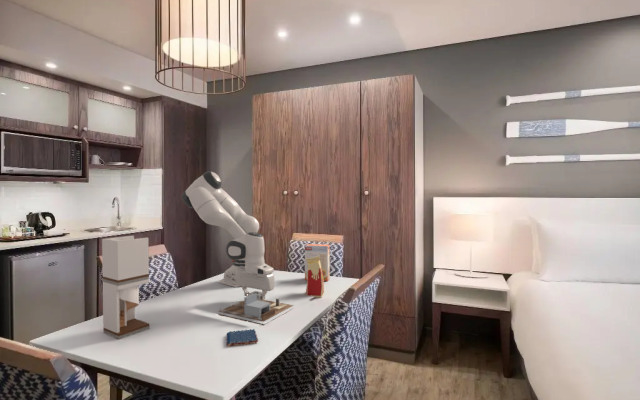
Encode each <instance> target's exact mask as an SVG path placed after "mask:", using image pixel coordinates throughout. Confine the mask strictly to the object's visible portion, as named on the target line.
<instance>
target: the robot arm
mask: <svg viewBox="0 0 640 400" xmlns="http://www.w3.org/2000/svg"><path fill="white" fill-rule="evenodd" d="M221 186H222V179H221V178H220V176H219V174H217V173H215V172H214V171H211V170H208V171H205V172H204V173H202V175H201V176H199V177H197V178H196V179H195V180H194V181H193V182H192V183H191V184H190V185H189V186H188V187H187V188H186V189H185V190H184V191H183V193H181V200H182V202H183V203H184V204H185V205H186V206H187V207H188V208H190V209H194V211H195V212H196V213H197V215H198V216H199V218H200V219H201V220H202V221H203V222H204V223H205V224H208V225H210V226H216V227H220V228H223V229H224V230H226V231H227V232H229V234H230V236H231V237H233V238H234V239H232V240H230V241H229V242H227V244H226V247H225V253H226V255H227V257H228V258H229V259H230V260H231V262H232V265H231V266H230V267H229V268H227V269H226V270H225V271H224V274H223V278H222V279H220V280H219V281H218V282H219V283H220V284H222V285H226V286H230V287H233V288H237V287H242V291H243V295H244V297H247V296H248V293H250V292H249V291H248V288H250V289H255V290H260V291H261V292H263V294H262V295H261V296H260V297H261V298H260V299H262V300H266V295H267V294H268V292H270V291H273V290H274V289H275V275H274V267H272V266H270V265H269V264H267V263H265V252H266V251H265V238H264V235H263V234H261V233H259V230H260V223H259V221H258V220H257V219H256V217H254V216H253V215H252V216H251V215H249V214H247V213H246V212H245V211H244V210H243V209H242V207H241V206H240V205H239V203H238V202H237V201H236V200H235V199H234V198H232V196H231V195H229V193H227V192H226V191H225V190H224V189H223V188H222V187H221Z"/></svg>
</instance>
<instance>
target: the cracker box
mask: <svg viewBox="0 0 640 400" xmlns="http://www.w3.org/2000/svg"><path fill="white" fill-rule="evenodd" d="M317 256H320V258H319V259H320V264H321V268H322V273H323V280H324V282H328V281H330V278H331V277H330V268H331V267H330V244H319V243H314V244H313V243H307V244H305V245H304V281H307V278H308V263H307V260H306V259H308V258H314V257H317Z"/></svg>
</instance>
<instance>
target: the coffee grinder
mask: <svg viewBox="0 0 640 400" xmlns="http://www.w3.org/2000/svg"><path fill="white" fill-rule="evenodd" d="M101 246H102V247H101V249H102V251H101V252H102V254H101V258H102V260H101V262H102V265H101V267H102V316H103V317H102V320H103V321H102V322H103V323H102V326H103V327H102V328H103V331H102V333H103V334H105V335H107V336H110V337H111V338H114V339H117V340H122V339H125V338H127V337H129V336H133V335H135V334H138V333H141V332H142V333H143V332H144V331H147V330H149V329H150V323H149V322H146V321H143V320H140V319H137V318H136V316H135V315H136V312H135V311H136V309H135V308H136V307H138V306H139V305H140V303H139V301H140V299H139V298H140V297H139V296H140V295H139V286H141V285H145V284H149V281H150V273H149V272H150V268H149V265H150V261H149V257H150V255H149V250H150V249H149V237H140V238H135V236H134V235H126V236H117V237H116V236H115V237H107V238H102V239H101Z"/></svg>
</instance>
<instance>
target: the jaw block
mask: <svg viewBox="0 0 640 400" xmlns="http://www.w3.org/2000/svg"><path fill="white" fill-rule="evenodd" d="M254 293H257V300H258V301H264V300H265V299H264V300H262V299H260V298H261V297H260V296H261V295H262V294H263V292H262V291H257V290H254V291H251V292H249V293H248V296H249V295H252V294H254Z"/></svg>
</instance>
